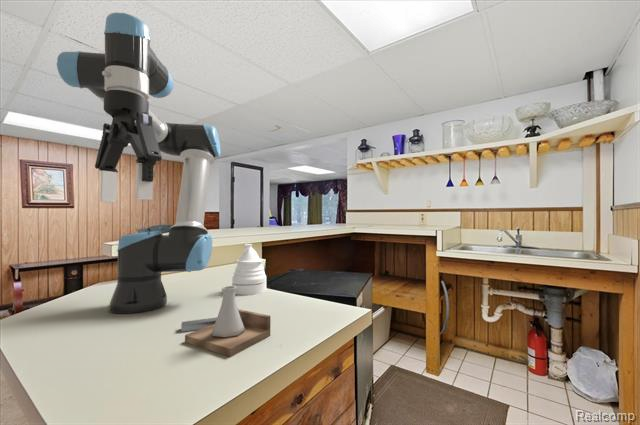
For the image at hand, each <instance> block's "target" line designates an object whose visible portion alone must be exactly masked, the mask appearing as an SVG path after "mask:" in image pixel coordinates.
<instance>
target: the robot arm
mask: <svg viewBox="0 0 640 425" xmlns="http://www.w3.org/2000/svg"><path fill="white" fill-rule="evenodd" d="M149 29H150V28H148V26H147V24H146V23H145V22H144V21H142V20H141V19H139V18H138V17H136V16H134V15H131V14H129V13H126V12H116V11H115V12H111V13H110V14H108V15H107V16H106V19H105V27H104V31H103V34H104V53H100V52H88V51H81V50H78V51H63V52H61V53H59V54H58V55H57V58H56V60H57V62H56V69H57V71H58V75H59V76H60V78H61V79H62V80H63V82H64V83H65V84H66V85H68V86H70V87H73V88H79V89H87V90H89V92H91V93H92V94H94V95H95V96H96V97H97V98H98V99H100V101H102V102H103V111H104V112H105V113H106V115H107V114H108V115H110V116H111V118H112V119H111V120H112V121H111V124H109V123H106V122H104V124H103V125H102V127H103V128H102V136H101V139H100V144H99V147H98V152H97V157H96V160H95V163H94V168H95V169H98V170H99V171H100V192H99V194H100V195H99V196H100V200H99V201H100V202H101V203H117V199H118V198H117V197H118V196H117V195H118V173H119V171H118V170H117V166H118V163H119V161H120V158H121V157H122V154H123V152H124V149H125V148H128V146H129V144H130V146H131V147H132V150H133V152H134V155H135V156H136V160H135V163H136V164H135V168H136V169H135V200H145V201H153V200H154V198H153V197H154V166H155V165H156V164H157V162H161V161H162V159H163V156H162V154H161V153H164V154H165V155H169V156H174V157H175V156H176V157H180V159H181V160H182V161H183V167H182V173H181V174H182V175H181V181H180V189H179V196H178V201H177V211H176V217H175V224H174V225H172V226H170V227H169V230H168V234H166V235H164V234H163V233H162V231H161V230H154V231H145V232H135V233H129V234H124V235H121V236H120V238H119V239H118V244H117V250H116V251H117V283H116V286H115V290H114V292H113V294H112V296H111V299H110V301H109V312H110V313H114V314H134V313H142V312H148V311H151V310H155V309H159V308H161V307H164V306H165V305H167V303H168V296H167V292H166V290H165V287H164V284H163V282H162V273H172V272H173V273H176V272H177V273H178V272H179V273H180V272H181V273H182V272H188V273H191V272H199V271H203V270H204V269H205V268H206V267H207V266H208V265H209V262H210V260H211V256H212V252H213V237H212V236H211V235H210V234H208V233H209V231H208V229H207V228H206V227H205V226H204V222H205V216H206V205H207V196H208V195H207V194H208V184H209V176H210V175H209V174H210V167H211V166H212V165H213V164H214V163H215V160H216V159H215V158H220V157H221V142H220V138H219V137H220V136H219V134H218V130H217V128H216V127H215V126H214V125H211V124H204V123H203V124H190V123H170V122H165V121H164V120H163V119H162V118H160V117H157V116H156V115H155V114H154V113H153V112H152V111H151V110H150V108H149V107H150V104H149V101H148V100H149V99H150V96H151V97H153V98H157V99H161V98H166V97H168V96H169V95H170V94H171V93H172V91H173V89H174V79H173V77H172V75H171V73H170V72H169V70H168V69H167V67H166V66H165V65H164V64H163V62H161V60H160V59H159V58H158V57H157V55H156V53H155V51H154V50H153V49H152V48H151V44H150V42H151V37H150V36H151V34H150V30H149Z"/></svg>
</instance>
